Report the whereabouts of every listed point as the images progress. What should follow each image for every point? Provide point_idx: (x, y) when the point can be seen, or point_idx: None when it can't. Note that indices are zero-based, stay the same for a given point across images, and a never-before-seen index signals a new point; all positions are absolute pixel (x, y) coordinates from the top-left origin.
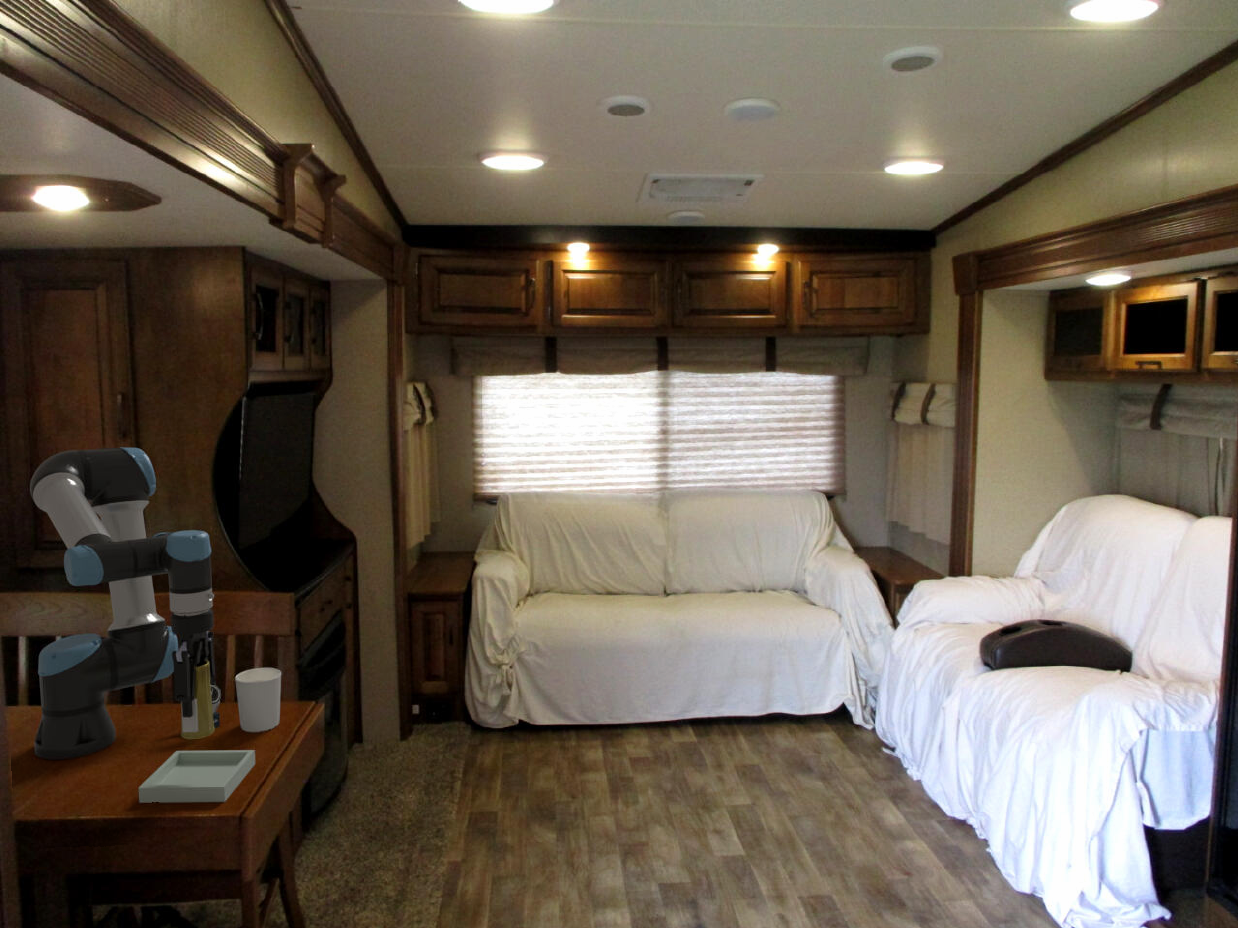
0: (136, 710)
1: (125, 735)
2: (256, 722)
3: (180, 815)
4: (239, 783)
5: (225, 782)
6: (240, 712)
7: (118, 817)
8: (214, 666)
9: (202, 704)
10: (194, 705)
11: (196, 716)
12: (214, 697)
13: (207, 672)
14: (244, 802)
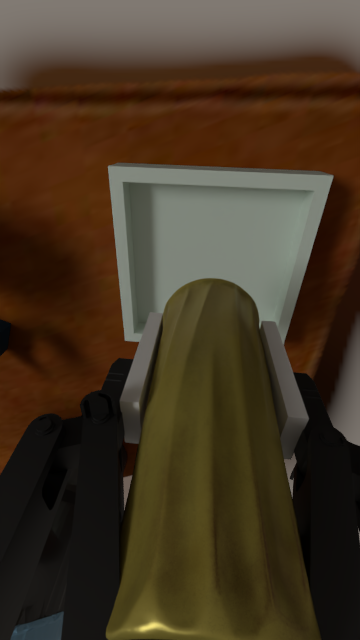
0: None
1: (43, 414)
2: None
3: (355, 251)
4: (225, 167)
5: (306, 181)
6: None
7: (322, 347)
8: (2, 478)
9: (258, 371)
10: (299, 397)
11: (282, 356)
12: None
13: (226, 527)
14: (340, 111)
